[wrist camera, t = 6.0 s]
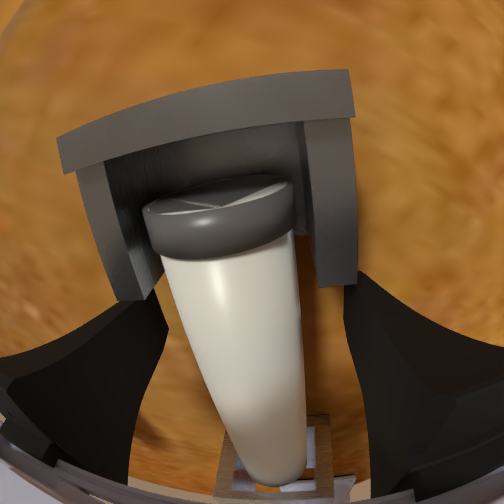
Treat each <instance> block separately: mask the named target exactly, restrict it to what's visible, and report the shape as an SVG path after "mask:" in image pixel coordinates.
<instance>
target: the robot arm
mask: <svg viewBox="0 0 504 504" xmlns="http://www.w3.org/2000/svg"><path fill="white" fill-rule="evenodd" d="M343 319H344V325H345V331H346V337H347V342H348V345H349V349H350V352H351V355H352V359H353V362H354V365H355V369H356V372H357V376H358V379H359V383H360V386H361V390H362V394H363V399H364V405H365V413H366V420H367V429H368V439H369V452H370V470H371V499H367V500H362V501H356V502H350V497H349V493H350V491H351V489H352V487H353V484H354V482H355V480H356V475H350V476H343V477H335V478H334V500H333V502H332V504H504V347H500V346H496V345H492V344H488V343H485V342H482V341H478V340H475V339H472V338H469V337H467V336H464V335H461V334H459V333H457V332H454V331H452V330H450V329H447V328H445V327H443V326H441V325H439V324H437V323H435V322H433V321H431V320H430V319H428V318H426V317H424V316H422V315H421V314H419V313H417V312H416V311H414V310H412V309H411V308H409V307H408V306H406V305H405V304H403V303H402V302H400V301H399V300H398V299H396V298H395V297H394V296H392V295H391V294H390V293H388V292H387V291H386V290H384V289H383V288H382V287H380V286H379V285H378V284H377V283H376V282H374V281H373V280H372V279H371V278H369V277H368V276H367V275H366V274H364V273H363V272H362V271H357V284H351V285H344V314H343ZM168 331H169V328H168V325H167V323H166V320H165V318H164V315H163V312H162V310H161V307H160V304H159V301H158V299H157V296H156V293H155V290H154V288H153V289H152V290H151V292H150V293H149V295H148V296H147V298H146V299H145V300H129V301H119V302H118V303H116V304H115V305H113V306H112V307H110V308H109V309H107V310H106V311H104V312H103V313H101V314H100V315H98V316H97V317H95V318H94V319H92V320H90V321H89V322H87V323H86V324H84V325H82V326H81V327H79V328H77V329H76V330H74V331H72V332H70V333H68V334H66V335H64V336H62V337H60V338H58V339H56V340H54V341H51V342H49V343H47V344H44V345H42V346H40V347H37V348H34V349H32V350H29V351H26V352H22V353H19V354H15V355H11V356H7V357H2V358H0V413H1V414H2V415H3V416H4V417H5V418H6V420H5V422H4V423H2V422H1V421H0V504H105V503H103V502H102V501H100V500H97V499H96V498H93V497H91V496H90V495H89V494H91V495H93V496H96V497H98V498H101V499H103V500H106V501H108V502H111V503H113V504H209V503H201V502H196V501H189V500H183V499H178V498H173V497H168V496H164V495H160V494H156V493H152V492H148V491H144V490H140V489H137V488H133V487H129V486H128V469H129V458H130V451H131V444H132V438H133V433H134V429H135V424H136V420H137V416H138V412H139V409H140V405H141V402H142V399H143V396H144V393H145V391H146V389H147V386H148V384H149V382H150V379H151V377H152V375H153V373H154V370H155V368H156V366H157V363H158V361H159V359H160V356H161V354H162V352H163V349H164V346H165V342H166V339H167V335H168ZM280 490H281V492H291V491H310V490H313V480H300V481H294V482H292V483H290V484H288V485H285V486H281V487H280ZM88 493H89V494H88Z"/></svg>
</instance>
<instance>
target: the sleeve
mask: <svg viewBox="0 0 504 504" xmlns="http://www.w3.org/2000/svg"><path fill="white" fill-rule="evenodd" d="M306 422H307V466H306V468H305V469H307V468H313V490H310V491H291V492H255V487H256V482H255V481H254V480H253V479H252V478H251V477H250V476H249V474H248V473H247V471H246V469H245V467H244V465H243V463H242V461H241V459H240V457H239V455H238V453H237V451H236V449H235V447H234V445H233V443H232V441H231V439H230V437H229V435H228V433H227V430H225V435H224V440H223V446H222V451H221V456H220V461H219V466H218V472H217V477H216V482H215V487H214V492H213V497H214V498H215V499H216V500H217V501H218V502H219V503H220V504H332V502H333V500H334V476H333V459H332V444H331V431H330V420H329V414H326V415H316V416H306Z"/></svg>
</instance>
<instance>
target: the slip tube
mask: <svg viewBox="0 0 504 504" xmlns="http://www.w3.org/2000/svg"><path fill="white" fill-rule="evenodd" d="M142 212H143V216H144V220H145V224H146V227H147V231H148V234H149V238H150V241H151V245H152V248H153V250H154V251H155V252H156V253H158V254H160V256H161V259H162V263H163V266H164V269H165V272H166V276H167V279H168V282H169V285H170V288H171V291H172V294H173V297H174V300H175V303H176V306H177V309H178V312H179V315H180V318H181V320H182V323H183V326H184V329H185V332H186V334H187V337H188V340H189V342H190V345H191V348H192V350H193V353H194V356H195V358H196V361H197V363H198V366H199V368H200V371H201V373H202V376H203V378H204V381H205V383H206V385H207V388H208V390H209V392H210V395H211V397H212V399H213V402H214V404H215V406H216V409H217V411H218V413H219V415H220V417H221V420H222V422H223V424H224V426H225V428H226V430H227V433H228V435H229V437H230V439H231V441H232V443H233V445H234V447H235V449H236V451H237V453H238V455H239V457H240V459H241V461H242V463H243V465H244V467H245V469H246V471H247V473H248V474H249V476H250V477H251V478H252V479H253V480H254V481H255V482H257V483H259V484H261V485H264V486H268V487H281V486H285V485H288V484H290V483H292V482H294V481H296V480H297V479H298V478H299V477H300V476H301V475H302V474H303V472H304V471H305V468H306V466H307V422H306V394H305V372H304V354H303V338H302V323H301V309H300V297H299V285H298V273H297V263H296V252H295V242H294V233H293V227H294V226H295V225H296V223H297V209H296V200H295V191H294V183H293V180H292V179H291V178H289V177H286V176H281V175H267V174H263V175H245V176H236V177H229V178H222V179H217V180H212V181H207V182H203V183H199V184H195V185H191V186H188V187H185V188H181V189H178V190H175V191H173V192H170V193H168V194H165V195H163V196H161V197H158V198H157V199H155V200H153V201H151V202H150V203H148V204H147V205H146V206H145V207H144V208H143V210H142Z"/></svg>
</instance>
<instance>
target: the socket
mask: <svg viewBox="0 0 504 504" xmlns="http://www.w3.org/2000/svg"><path fill="white" fill-rule="evenodd" d="M354 117H355V109H354V102H353V95H352V88H351V82H350V76H349V70H348V69H338V70H315V71H301V72H289V73H280V74H271V75H264V76H257V77H250V78H244V79H238V80H232V81H227V82H222V83H217V84H212V85H208V86H203V87H199V88H194V89H190V90H186V91H182V92H179V93H175V94H171V95H168V96H164V97H161V98H157V99H154V100H151V101H148V102H145V103H141V104H138V105H135V106H132V107H130V108H127V109H124V110H121V111H118V112H116V113H113V114H110V115H108V116H105V117H103V118H100V119H98V120H95V121H93V122H90V123H88V124H86V125H83V126H81V127H79V128H77V129H74V130H72V131H70V132H68V133H66V134H64V135H61V136H59V137H57V144H58V149H59V154H60V159H61V164H62V168H63V173H64V175H65V174H68V173H71V172H74V171H76V175H77V180H78V184H79V188H80V192H81V195H82V199H83V203H84V206H85V210H86V213H87V217H88V220H89V223H90V227H91V230H92V233H93V236H94V239H95V242H96V245H97V248H98V251H99V254H100V257H101V260H102V262H103V265H104V268H105V270H106V273H107V276H108V278H109V281H110V283H111V286H112V288H113V291H114V293H115V296H116V298H117V301H129V300H145V299H146V298H147V296H148V295H149V293H150V292H151V290H152V289H153V288H154V286H155V285H156V283H157V282H158V280H159V279H160V278H161V276H162V275H163V273H164V272H165V269H164V266H163V263H162V259H161V256H160V254H158V253H156V252H155V251H154V250H153V248H152V245H151V241H150V238H149V234H148V231H147V227H146V224H145V220H144V216H143V212H142V210H143V208H144V207H145V206H146V205H147V204H148V203H150V202H151V201H153V200H155V199H157V198H158V197H161V196H163V195H165V194H168V193H170V192H173V191H175V190H178V189H181V188H185V187H188V186H191V185H195V184H199V183H203V182H207V181H212V180H217V179H222V178H229V177H236V176H245V175H263V174H267V175H281V176H286V177H289V178H291V179H292V180H293V183H294V191H295V200H296V209H297V223H296V225H295V226H294V227H293V233H294V236H300V235H308V239H309V243H310V248H311V253H312V257H313V262H314V267H315V272H316V277H317V282H318V288H323V287H333V286H342V285H351V284H357V268H358V229H357V198H356V180H355V165H354V153H353V143H352V133H351V124H350V118H354Z"/></svg>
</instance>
